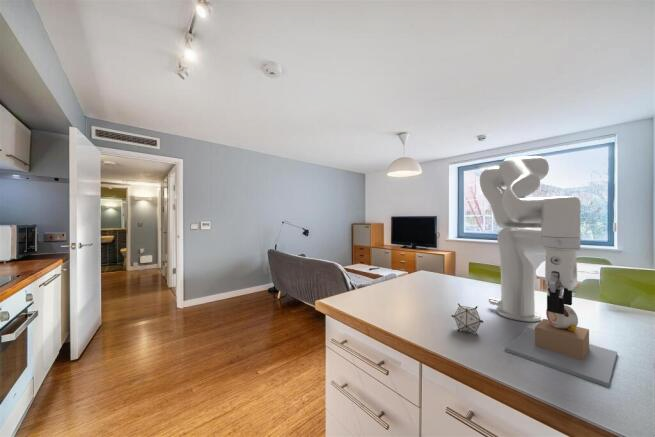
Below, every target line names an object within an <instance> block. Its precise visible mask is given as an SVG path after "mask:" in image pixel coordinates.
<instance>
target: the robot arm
mask: <svg viewBox="0 0 655 437" xmlns="http://www.w3.org/2000/svg"><path fill="white" fill-rule="evenodd" d="M549 170H550V165H549V163H548V160H546V158H545V157H543V156H539V155H538V156H537V155H534V156H533V155H532V156H517V157H515V156H514V157H510V158H506V159H504V160H503V161H501V162H500V164H499V165H498V166H493V167H490V168H486V169H485V170H483V171H482V172H481V173H480V175H479V185H480V191H481V192H482V194H483V196H484V197H485V199H486V200H487V201H488V203H489V205H490V208H491V211H492V215H493V218H494V220H495V223H496V224H497V226H498V227H499V228H500V229H501V230H499V231H498V234H497V238H496V239H497V245H498V249H499V250H498V251H499V257H500V258H499V259H500V294H501V296H500V298H498V299H497V298H494V297H489V298H488V303H490V305H493V306H494V305H495V306H496V308H495V310H496V313H497V314H498V315H500V316H502V317H504V318H506V319H511V320H515V321H519V322H520V321H521V322H527V323H529V322H530V323H534V322H540V321H541V315H540V314H539V313H538V312H536V311H535V307H536V306H535V304H536V303H535V299H536V298H535V267H534V264H533V263H532V261H531V260H529V258H528V257H527V255H545V262H544V263H545V264H544V266H545V268H544V270H545V271H544V272H545V273H544V275H545V277H544V278H545V281H544V282H545V285H546V286H547V293H546V310H547V311H549V312H553V313H558V314H564V305H566V306H572V305H573V289H574V288H576V286H578V267H577V265H578V263H577V262H578V261H577V253H576V252H579V251H581V209H582V208H581V207H582V206H581V200H580V198H578V197H577V196H573V195H571V196H570V195H568V196H566V195H565V196H550V197H549V196H548V197H527V196H530V195H532V194H534V193H535V192H536V191H537V190H538V189H539V188H540V186H541V185H540V184H541V180H543V179H544V178H545V177H547V175H548V173H549Z"/></svg>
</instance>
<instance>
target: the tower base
mask: <svg viewBox="0 0 655 437" xmlns="http://www.w3.org/2000/svg"><path fill="white" fill-rule="evenodd" d="M504 351H505V352H507V353H509V354H513V355H516V356H518V357H521V358H525V359H527V360H530V361H532V360H533V361H532V362H535V363H538V364H541V365H544V366H547V367H549V368H552V369H555V370H558V371H561V372H565V373H567V374H570V375H573V376H575V377H579V378H581V379H584V380H586V379H587V381H589V380H590V382H592V381H593V383H595V382H596V383H595V384H599V385H601V384H602V385H601V386H604V387H606V386H607V388H609V387H610V384H611V381H612V376H613V373H614V368H615V365H616V361H617V356H618V351H617V350H613V349H608V348H604V347H601V346H597V345H593V344H590V329H588V328H585V327H581V326H577V327H576V330H575V331H574V332H571V331H569V330H568V329H561V328H555V327H554V326H552V325H551V324H550V322H549V321H548V319H547V318H542V320H540V321H539V322H538V323H537V324H536V325H535V326H534V328H531V327H527V328H526V329H525V330H523V331H522V332H521V333H520V334H519V335H518V336H516V338H514V339H513V340H512V341H511V342H510V343H508V344H507V345H506V346H505V347H504Z"/></svg>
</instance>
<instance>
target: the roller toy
mask: <svg viewBox="0 0 655 437" xmlns="http://www.w3.org/2000/svg"><path fill="white" fill-rule="evenodd" d="M545 315H546V319H547V320H548V321H549V322H550V324H551V325H552V326H554V327H555V328H561V329H568V330H569V331H571V332H574V331H575V330H576V327H578V324H579V318H578V315H577V313H576V311H575V310H574V309H573V307H571V306H570V305H566V304H564V314H558V313H553V312H549V311H547V309H546V310H545Z"/></svg>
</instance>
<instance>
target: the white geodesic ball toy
mask: <svg viewBox="0 0 655 437" xmlns="http://www.w3.org/2000/svg"><path fill="white" fill-rule="evenodd" d="M457 305H458V307H457V310H456V311H455V313H454V315H453V314H451V316H450V317H452V318H453V319H454V320H455V322H456V326H457V330H456V332H460V331H464V332H468V333H472V334H473V333H474V334H475V336H478V333H477V332H478V329H479V328H480V325H481V323H482V324H484V321H483V320H482V319H481V317H480V315H479V312H478V310H477V309H478V305H476V306H475V307H471V306H464V305H461V304H460V303H459V302H458V303H457Z"/></svg>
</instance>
